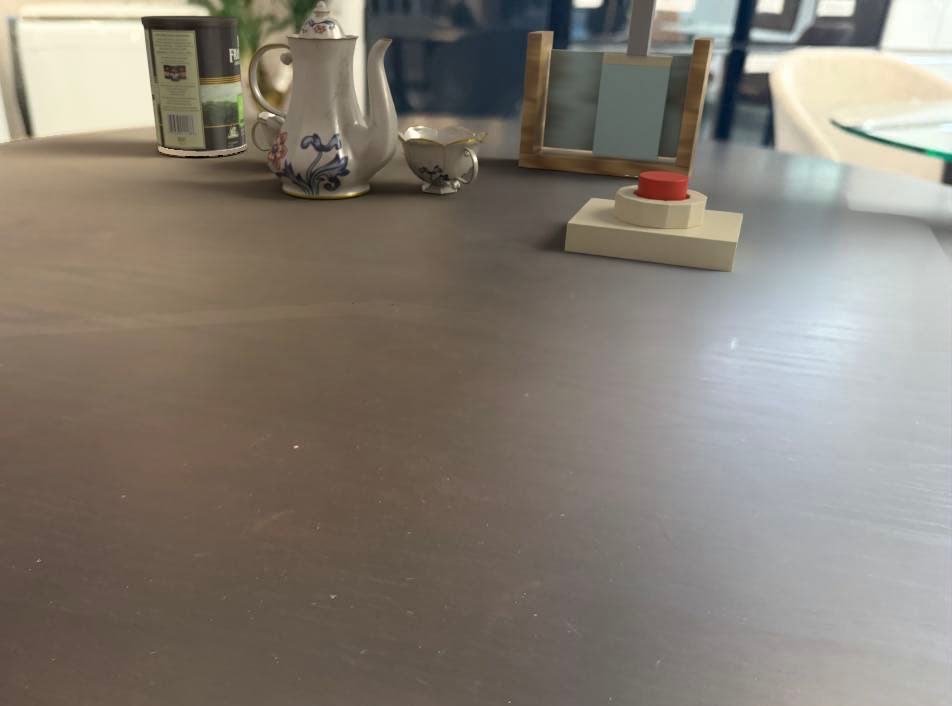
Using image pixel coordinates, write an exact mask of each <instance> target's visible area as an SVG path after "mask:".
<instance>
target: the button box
mask: <svg viewBox="0 0 952 706" xmlns="http://www.w3.org/2000/svg"><path fill="white" fill-rule="evenodd" d="M637 189H638V184H635V185H628V186H623V187H620V188H619V189H618V190H617V191H616V192H615V199H607V198H598V197H590V199H589V200H587V201H586V203H585V204H584V205H583V206H582V207H581V208H580V209H579V210H578V211H577V212H576V213H575V214H574V215H573V216H572V218H571V219H570V220H569V221H567V223H566V231H565V233H566V234H565V243H564V251H565V252H571V253H572V252H573V253H579V254H585V255H586V254H587V255H594V256H604V257H611V258H620V259H627V260H636V261H642V262H651V263H657V264H667V265H673V266H682V267H690V268H698V269H704V270H713V271H721V272H729V273H732V271H733V267H734V262H735V258H736V253H737V248H738V244H739V239H740V233H741V228H742V224H743V218H744V213H743V212H742V213H741V212H732V211H722V210H712V209H706V207H707V200H708V196H707V195H705V194H703V193H701V192H699V191H696V190H693V189H688V188H687V194H686V200H681V201H662V200H652V199H646V198H642V197H638V196H637Z"/></svg>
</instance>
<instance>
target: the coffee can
mask: <svg viewBox="0 0 952 706" xmlns="http://www.w3.org/2000/svg"><path fill="white" fill-rule="evenodd" d="M140 20H141V25H142V27H143V33H144V42H145V51H146V58H147V60H146V61H147V67H148V77H149V85H150V94H151V101H152V110H153V118H154V119H153V120H154V125H155V126H154V127H155V135H156V142H157V144H158V145H159V146H161V147H164V148H168V149H174V150H183V151H196V152H211V151H212V152H214V151H226V150H233V149H238V148H241V147H243V146H245V145H246V146H247V141H246V127H245V126H246V125H245V114H244V100H243V86H242V84H243V83H242V71H241V56H240V43H239V29H238V27H239V18H238V17H235V16H222V15H221V16H220V15H147V16H146V15H145V16H141V17H140ZM157 144H156V145H157ZM158 145H157V146H158ZM156 151H157V152H158V150H157V149H156ZM241 153H242V152H240V153H235V154H230V155H229V156H232V155H233V156H234V155H237V154H241ZM160 154H162V155H165V156H169V157H174V156H173V155H167V154H163V153H160ZM225 156H227V155H223V156H222V157H225ZM176 157H180V158H186V157H185V156H176ZM214 157H217V156H209V157H208V158H214Z"/></svg>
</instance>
